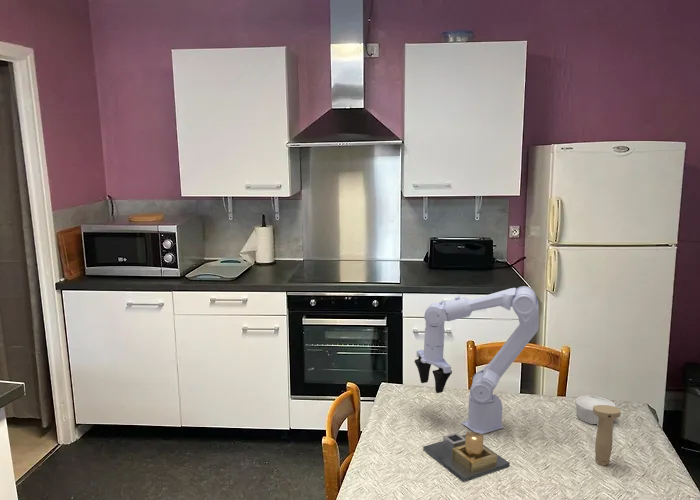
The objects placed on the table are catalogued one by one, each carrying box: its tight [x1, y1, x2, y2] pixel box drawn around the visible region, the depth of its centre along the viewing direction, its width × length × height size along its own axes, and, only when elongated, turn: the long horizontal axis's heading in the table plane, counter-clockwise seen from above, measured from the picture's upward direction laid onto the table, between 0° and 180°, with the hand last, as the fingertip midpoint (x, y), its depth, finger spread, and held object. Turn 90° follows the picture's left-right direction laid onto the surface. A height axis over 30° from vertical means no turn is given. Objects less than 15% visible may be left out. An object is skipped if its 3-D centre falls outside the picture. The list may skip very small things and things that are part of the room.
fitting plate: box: [422, 432, 511, 483], centre depth 150 cm, size 15×17×4 cm
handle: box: [593, 405, 622, 467], centre depth 146 cm, size 5×6×15 cm
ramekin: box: [574, 394, 616, 425], centre depth 172 cm, size 11×11×5 cm
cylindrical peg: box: [465, 431, 484, 460], centre depth 146 cm, size 4×4×7 cm
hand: (431, 387), depth 170 cm, fingers open, 7 cm apart
